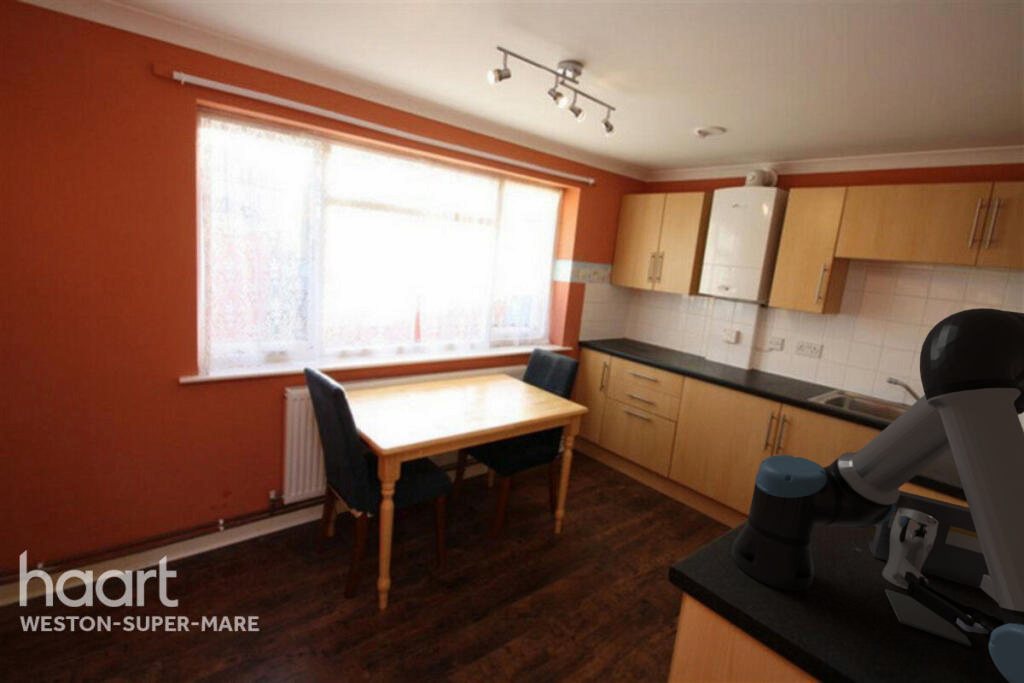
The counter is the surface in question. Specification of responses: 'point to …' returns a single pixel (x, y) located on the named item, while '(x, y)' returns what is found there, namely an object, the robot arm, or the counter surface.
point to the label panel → (941, 540)
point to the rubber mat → (923, 618)
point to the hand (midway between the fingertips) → (942, 573)
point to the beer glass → (909, 543)
